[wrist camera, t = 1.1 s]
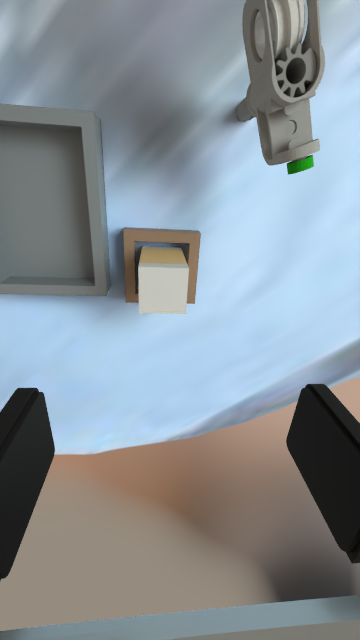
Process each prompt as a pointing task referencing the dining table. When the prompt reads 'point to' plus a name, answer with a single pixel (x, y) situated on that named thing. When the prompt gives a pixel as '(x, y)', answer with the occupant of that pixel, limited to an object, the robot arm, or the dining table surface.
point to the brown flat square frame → (158, 236)
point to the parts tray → (52, 203)
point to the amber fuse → (162, 280)
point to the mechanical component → (282, 78)
